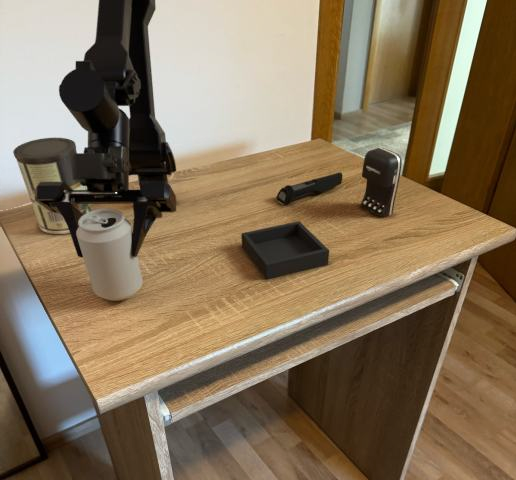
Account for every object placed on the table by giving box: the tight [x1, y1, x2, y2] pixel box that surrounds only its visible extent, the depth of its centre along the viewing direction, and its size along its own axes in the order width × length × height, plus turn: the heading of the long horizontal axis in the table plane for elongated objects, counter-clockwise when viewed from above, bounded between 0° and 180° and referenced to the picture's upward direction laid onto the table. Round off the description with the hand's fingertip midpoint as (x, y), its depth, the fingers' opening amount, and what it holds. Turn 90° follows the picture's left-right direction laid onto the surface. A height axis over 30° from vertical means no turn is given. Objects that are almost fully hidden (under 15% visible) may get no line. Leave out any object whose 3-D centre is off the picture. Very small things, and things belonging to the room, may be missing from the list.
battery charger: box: [360, 147, 403, 217], centre depth 91 cm, size 7×4×11 cm, turn 32°
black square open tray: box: [240, 220, 330, 280], centre depth 82 cm, size 11×11×3 cm
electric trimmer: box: [276, 172, 343, 206], centre depth 100 cm, size 4×16×3 cm, turn 122°
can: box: [76, 208, 144, 302], centre depth 71 cm, size 8×8×12 cm
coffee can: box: [12, 137, 93, 235], centre depth 89 cm, size 10×10×14 cm
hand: (107, 256), depth 69 cm, fingers closed on can, 7 cm apart
